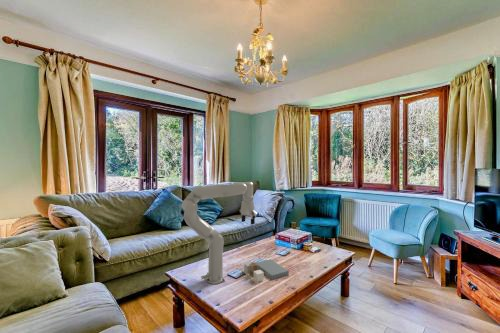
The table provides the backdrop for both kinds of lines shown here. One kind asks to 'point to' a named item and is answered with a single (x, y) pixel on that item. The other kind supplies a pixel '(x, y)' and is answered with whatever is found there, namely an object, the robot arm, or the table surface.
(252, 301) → the table surface
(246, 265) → the block
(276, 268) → the dock
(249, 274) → the pallet
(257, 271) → the crate
